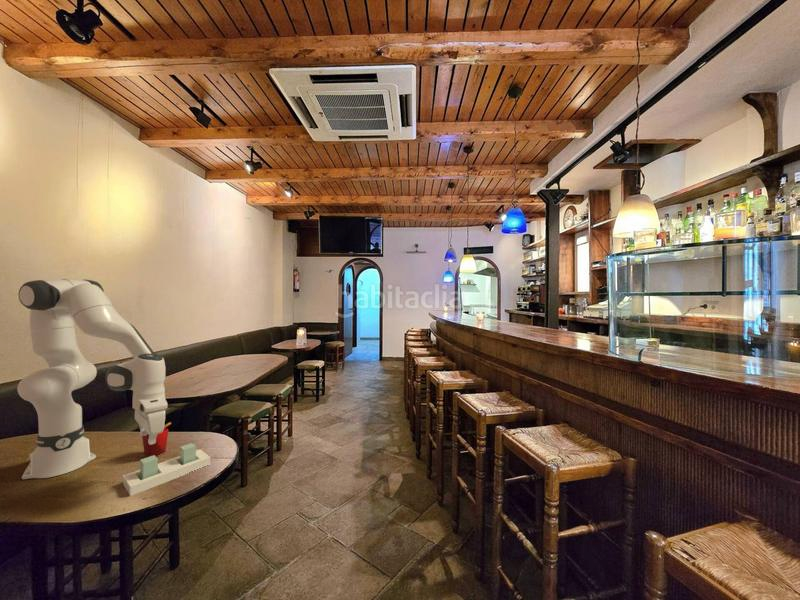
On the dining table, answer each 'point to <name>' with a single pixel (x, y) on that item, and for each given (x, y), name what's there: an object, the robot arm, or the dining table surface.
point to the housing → (168, 469)
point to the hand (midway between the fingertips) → (147, 439)
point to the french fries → (159, 445)
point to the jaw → (148, 467)
